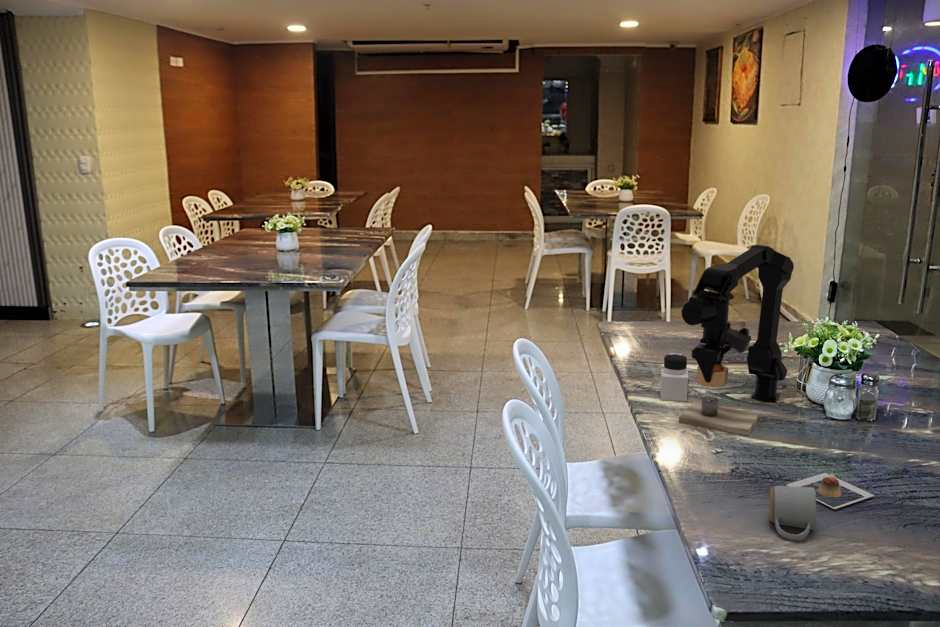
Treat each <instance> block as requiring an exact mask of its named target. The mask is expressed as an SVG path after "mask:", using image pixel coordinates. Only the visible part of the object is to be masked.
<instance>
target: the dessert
mask: <svg viewBox="0 0 940 627" xmlns="http://www.w3.org/2000/svg"><path fill="white" fill-rule="evenodd" d="M816 482H820V484H819V486H818V489H817V494H820V495H821V496H823V497H827V498H833V499H834V498H840V497H841V496H842V491H841V487H842V488H846V490H850V491H852V492H853V493H855V494H858V495H861V496H863V497H860V498H858V499H855V500H852V501H848V502H846V503H843V504H839V505H837V506H832V505H829V504H827V503H826V502H823V501H822V500H820V499H818V498H816V502H818V503H821V504H823V505H825V506H827V507H829V508H831V509H832V510H837V509H840V508H843V507H846V506H849V505H851V504H854V503H855V504H856V503H857V502H861V501H864V500H868V499H869V498H873V497H875V495H874V494H873V493H870V492H868V491H866V490H864V489H862V488H859V487H857V486H855V485H852V484H850V483H848V482H846V481H845V480H841V479H839V478H838V477H836V474H834V473H830V474H829V473H827V472H823V473H820V474H817V475H813V476H811V477H807V478H803V479H800V480H796V481H793V482H790V483H786V484H785V486H791V487H805V486H807V485H810V484H814V483H816Z"/></svg>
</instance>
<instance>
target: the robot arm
mask: <svg viewBox="0 0 940 627" xmlns="http://www.w3.org/2000/svg"><path fill="white" fill-rule="evenodd" d="M794 267H795V266H794V262H793V260H792V259H791V257H790V256H786V255H785V254H783V253H780V252H779V251H776V250H775V249H774V247H773V248H772V247H771V246H769V245H762V244H752V245H751V246H750V247H749V249H747V250H746V251H744V252H743V253H741V254H739V255H738V256H736V257H735V258H733V259H732V260H729V261H728V262H726V263H723V264H714V265H711V266H708V267H707V268H706V269H704V271H703V273H702V274H701V276H700V278H699V280H698V283H697V284H696V286H695V288H694V291H693V293H692V295H693V296H689V298H688V302H687V303H685V304H684V305H683V307H682V309H681V317H682V320H683V321H684V322H685V323H686V324H687V325H689V326H696V325H701V326H700V328H702V337H701V338H700V340H699V341H700V342H699V343H698V344H697V346H695V347H694V348H693V349H692V350H691V359H694V360H695V361H696V363H697V365H698V366H699V367H700V369H701V372H702V374H703V377H704V379H705V381H706V382H708V383H710V382H711V378H712V374H713V370H714V366H715V364H721V365H722V363H723V360H724V358H725V355H726V353H728V352H729V351H730V350H731V349H735V351H737V352H739V353H744V352H745V351H746V350H748V351H747V357H746V363H747V370H748V374H749V375H754V376H755V383H754V384H755V385H754V392H753V393H752V394H751V396H750V398H751V399H753V398H755V400H759V399H760V401H765V400H767V401H766V402H771V401H772V403H776V402H777V401H778V399H779V397H780V395H781V394H780V393H779V392H778V384H779V381H784V380H785V379H786V377H787V375H788V369H787V368H786V365H785V364H784V363H783V361H782V350H781V348H780V346H779V343H778V342H777V341H778V340H777V339H778V331H779V323H780V315H781V306H782V299H783V292H784V291H783V290H784V288H785V287H786V286H787V284H788V283H789V282H790V281H791V278H792V274H793V272H794V269H795V268H794ZM755 269H757V277H758V280H759V282H760V283H761V286H762V294H761V301H760V302H761V303H760V304H761V305H760V311H759V312H760V313H759V321H758V329H757V338H756V340H755V342H754V343H753V345H751V346H749V344H750V342H751V340H752V336H751V335H750V330H749V328H747V327H744V326H743V327H742V328H740V329H739V330H738V329H737V328H736V329H734V328H731V326H732V323H731V321H729V307H730V300H731V301H732V300H733V299H735V296H734V295H733V294H732V293H731V292H732V291H733V290H734V289H735V288H736V287H738V285H739V280H740V279H741V278H743V277H744V276H746V275H747V274H749V273H750V272H752V271H754V270H755ZM747 348H748V349H747Z"/></svg>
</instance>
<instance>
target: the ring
mask: <svg viewBox="0 0 940 627" xmlns="http://www.w3.org/2000/svg"><path fill="white" fill-rule="evenodd" d="M728 377H729V367H727V366H726V365H723V364H722V363H721V364H715V366H714V370H713V374H712V378H711V382H710V383H708V382H706V381H705V379H704V377H703V374H702V372H701V369H700V367H699V365H698V366H697V368H696V383H697V384H699V385H701V386H702V387H708V388H713V389H714V388H722V387H723V388H724V387H725V386H726V385H727V384H728Z"/></svg>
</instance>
